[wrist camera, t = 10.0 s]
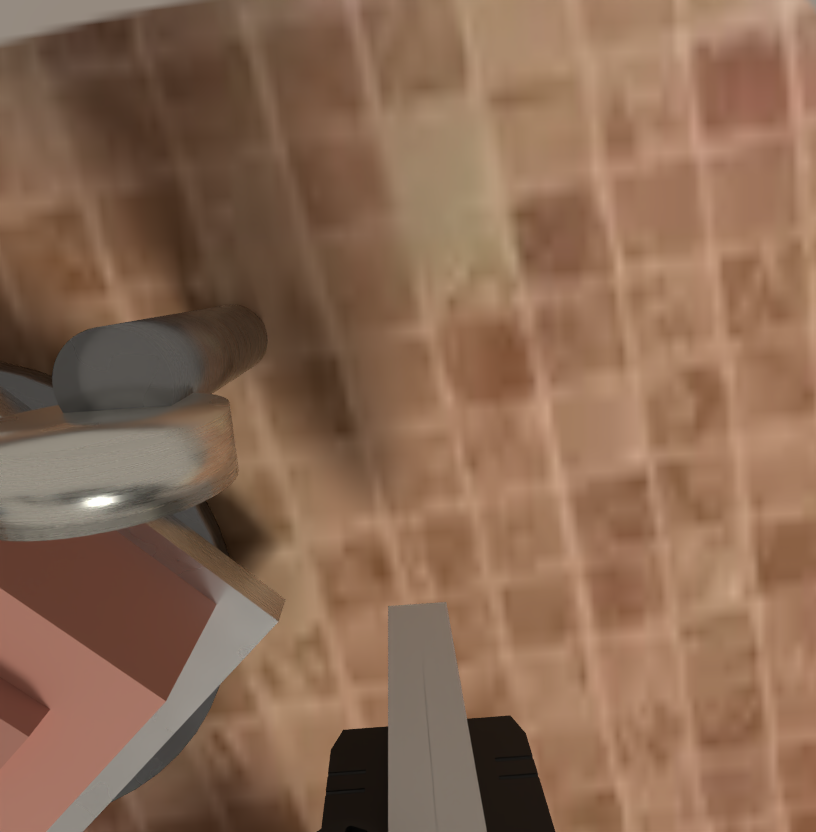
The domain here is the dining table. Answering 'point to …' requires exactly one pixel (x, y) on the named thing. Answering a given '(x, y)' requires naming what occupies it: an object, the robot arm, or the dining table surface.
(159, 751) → the turntable base
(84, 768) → the cover
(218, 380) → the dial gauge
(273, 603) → the turntable
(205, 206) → the dining table surface
